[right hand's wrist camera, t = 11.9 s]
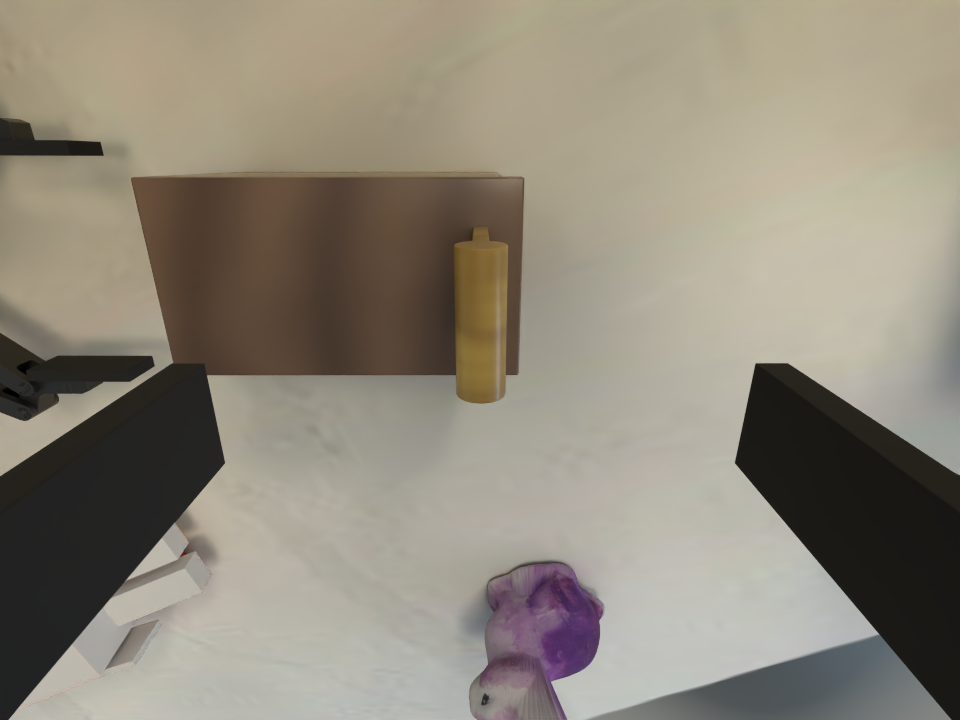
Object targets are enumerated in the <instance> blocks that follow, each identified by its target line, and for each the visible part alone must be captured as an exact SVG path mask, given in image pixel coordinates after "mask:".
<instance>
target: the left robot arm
mask: <svg viewBox="0 0 960 720" xmlns="http://www.w3.org/2000/svg"><path fill="white" fill-rule="evenodd" d="M0 155H59V156H104V155H103V151H102V147H101V143H100V142H88V141H68V140H34V136H33V133H32V129H31V126H30V123H27V122H25V121H22V120H18V119H7V118H0ZM152 367H154V361H153V357H152V356H56V357H54V358H52V359H50V360H48V361H44V360H42V359H41V358H39V357H38V356H36V355H34V354H33V353H31V352H30V351H28V350H26V349H25V348H23V347H22V346H20V345H19V344H17V343H15V342H14V341H12V340H11V339H9V338H7V337H6V336H4V335H3V334H1V333H0V412H1V413H4V414H6V415H9V416H12V417H14V418H17V419H19V420H23V421H27V420H29V419H31V418H33V417H35V416H36V415H38V414H40V413H42V412H43V411H45V410H47V409H49V408H50V407H52V406H54V405H55V404H57V403H58V402H59V397H58V395H57V394H67V393H68V394H73V393H74V394H82V393H85V392H87V391H89V390H91V389H93V388H94V387H96V386H98V385H100V384H101V383H103V382H130V381H132V380H133V379H135V378H137V377H138V376H140V375H141V374H143V373H144V372H146V371H148V370H149V369H151V368H152Z"/></svg>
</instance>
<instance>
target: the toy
mask: <svg viewBox="0 0 960 720" xmlns="http://www.w3.org/2000/svg"><path fill="white" fill-rule="evenodd" d="M188 543H189V542H188V540H187V539H186V538H185V536H184V535H183V533H182V532H181V531H180V529H179V528H178V526H177V525H176V524H175V523H174V524H173V525H172V527H171V528H170V529H169V530H168V531H167V532H166V534H165V535H164V536H163V537H162V538H161V540H160V541H159V542H158V543H157V544H156V545H155V547H154V548H153V549H152V550H151V551H150V553H149V554H148V555H147V556H146V557H145V558H144V560H143V561H142V562H141V563H140V564H139V566H138V567H137V568H136V569H135V570H134V572H133V573H132V574H131V575H130V576H129V577H128V579H127V580H126V581H125V582H124V583H123V585H122V586H121V587H120V588H119V589H118V590H117V592H116V593H115V594H114V595H113V596H112V598H111V599H110V600H109V601H108V602H107V604H106V605H105V606H104V607H103V608H102V609H101V611H100V612H99V613H98V614H97V615H96V617H95V618H94V619H93V620H92V621H91V622H90V624H89V625H88V626H87V627H86V628H85V630H84V631H83V632H82V633H81V634H80V635H79V637H78V638H77V639H76V640H75V641H74V643H73V644H72V645H71V646H70V647H69V649H68V650H67V651H66V652H65V653H64V654H63V656H62V657H61V658H60V659H59V660H58V662H57V663H56V664H55V665H54V666H53V667H52V669H51V670H50V671H49V672H48V673H47V675H46V676H45V677H44V678H43V679H42V680H41V682H40V683H39V684H38V685H37V686H36V688H35V689H34V690H33V691H32V692H31V694H30V695H29V696H28V697H27V698H26V699H25V701H24V702H23V703H22V704H21V705H20V707H19V708H18V709H17V710H19V709H21V708H24V707H26V706H29V705H31V704H34V703H36V702H39V701H41V700H43V699H46V698H48V697H51V696H53V695H56V694H58V693H61V692H63V691H65V690H68V689H70V688H73V687H75V686H78V685H80V684H83V683H85V682H87V681H90V680H92V679H95V678H98V677H102V676H105V675H108V674H111V673H114V672H118V671H121V670H124V669H127V668H130V667H133V666H136V664H137V663H138V661H139V659H140V658H141V656H142V655H143V653H144V651H145V650H146V648H147V647H148V645H149V644H150V642H151V640H152V639H153V637H154V636H155V634H156V632H157V631H158V629H159V628H160V626H161V622H160V621H159V620H156V621H152V622H149V623H146V624H143V625H140V626H137V627H133V628H132V626H133V625H134V623H135V622H136V620H137V619H138V618H141V617H143V616H146V615H148V614H151V613H153V612H155V611H158V610H160V609H163V608H165V607H168V606H170V605H173V604H175V603H177V602H180V601H182V600H185V599H187V598H190V597H192V596H195V595H197V594H199V593H202V592H203V590H204V588H205V586H206V584H207V583H208V581H209V579H210V577H211V575H212V574H211V572H210V571H209V570H208V568H207V567H206V565H205V564H204V563H203V561H202V560H201V558H200V557H199V556H198V554H197V553H196V551H194V552H191V553H189V554H185V553H184V552H183V551H184V549H185V548H186V546H187V545H188ZM17 710H16V711H17Z"/></svg>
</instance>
